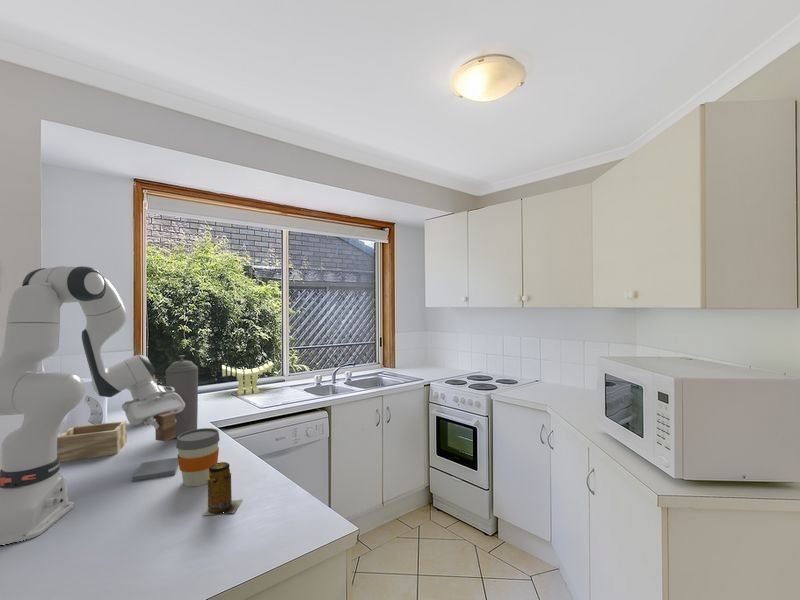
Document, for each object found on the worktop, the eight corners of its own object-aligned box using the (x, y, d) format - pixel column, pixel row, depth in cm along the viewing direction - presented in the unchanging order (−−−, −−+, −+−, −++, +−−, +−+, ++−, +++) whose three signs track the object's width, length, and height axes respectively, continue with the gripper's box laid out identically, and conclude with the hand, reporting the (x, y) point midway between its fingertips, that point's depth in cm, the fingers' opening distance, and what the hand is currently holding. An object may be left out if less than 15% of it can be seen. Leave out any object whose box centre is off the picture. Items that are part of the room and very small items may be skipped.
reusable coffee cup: (178, 493, 117) (177, 444, 117) (175, 478, 128) (174, 432, 128) (223, 482, 124) (222, 435, 124) (217, 468, 135) (216, 425, 135)
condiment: (212, 502, 112) (211, 461, 112) (242, 500, 113) (241, 459, 113) (201, 516, 105) (201, 472, 105) (234, 514, 106) (233, 470, 106)
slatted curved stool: (271, 386, 264) (270, 360, 264) (273, 391, 250) (273, 363, 250) (222, 391, 252) (222, 364, 252) (222, 396, 238) (222, 367, 238)
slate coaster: (175, 474, 131) (174, 470, 131) (132, 481, 126) (132, 476, 126) (180, 461, 142) (180, 457, 142) (141, 467, 137) (141, 462, 137)
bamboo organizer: (117, 453, 150) (116, 430, 150) (57, 462, 143) (56, 437, 143) (126, 442, 162) (126, 420, 162) (71, 449, 155) (71, 427, 155)
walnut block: (175, 437, 144) (175, 413, 144) (163, 441, 140) (163, 416, 140) (167, 436, 146) (166, 412, 146) (155, 439, 142) (155, 415, 142)
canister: (205, 432, 173) (204, 354, 173) (179, 441, 162) (177, 358, 162) (186, 428, 179) (185, 352, 179) (159, 437, 167) (158, 356, 167)
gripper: (123, 397, 136) (142, 428, 132) (177, 386, 155) (194, 412, 151) (115, 409, 138) (134, 439, 134) (169, 396, 157) (186, 423, 153)
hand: (166, 425), depth 143 cm, fingers closed on walnut block, 4 cm apart
